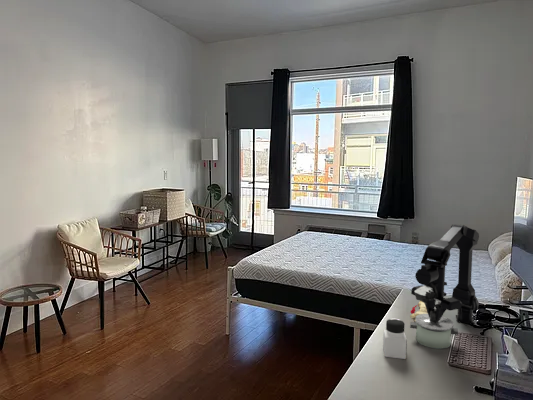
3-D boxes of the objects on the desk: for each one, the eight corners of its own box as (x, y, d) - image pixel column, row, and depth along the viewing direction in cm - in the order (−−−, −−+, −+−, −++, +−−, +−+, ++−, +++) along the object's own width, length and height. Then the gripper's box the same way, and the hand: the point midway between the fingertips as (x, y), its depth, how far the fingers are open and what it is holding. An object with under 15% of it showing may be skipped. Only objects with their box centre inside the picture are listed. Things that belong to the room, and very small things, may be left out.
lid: (415, 314, 156) (416, 301, 156) (451, 319, 151) (452, 306, 151) (415, 327, 144) (415, 314, 144) (454, 333, 139) (455, 319, 139)
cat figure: (413, 307, 185) (408, 324, 162) (414, 289, 184) (409, 303, 162) (436, 311, 180) (434, 328, 158) (437, 292, 180) (435, 306, 157)
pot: (410, 330, 157) (410, 316, 156) (455, 337, 151) (456, 322, 150) (409, 344, 146) (410, 328, 145) (458, 352, 140) (459, 335, 139)
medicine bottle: (406, 359, 135) (407, 325, 134) (384, 357, 137) (385, 324, 135) (403, 349, 142) (404, 317, 141) (382, 347, 144) (383, 315, 142)
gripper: (401, 274, 151) (399, 313, 153) (440, 289, 134) (438, 333, 136) (423, 271, 156) (421, 309, 157) (463, 285, 139) (461, 327, 140)
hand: (434, 319), depth 148 cm, fingers closed on lid, 3 cm apart
